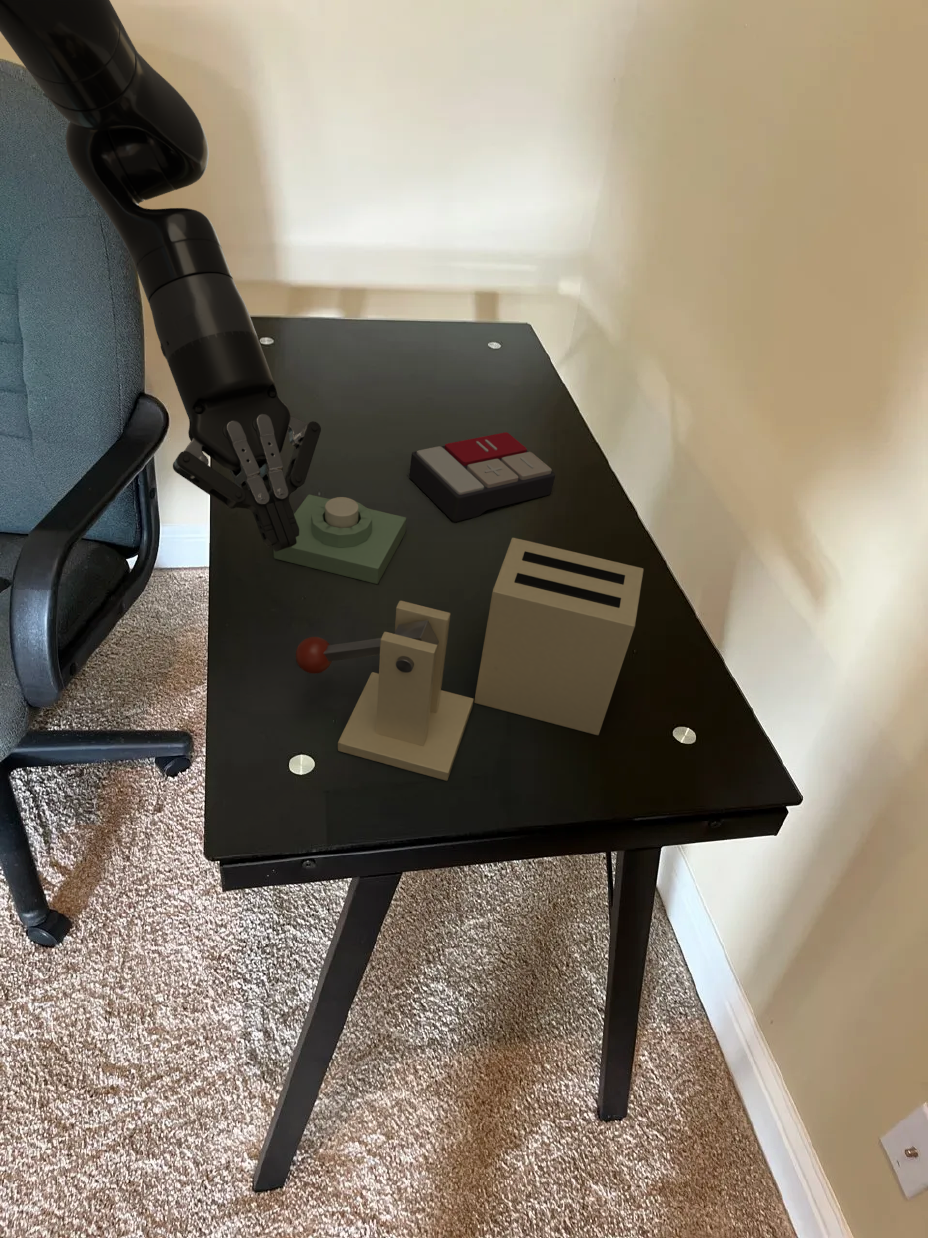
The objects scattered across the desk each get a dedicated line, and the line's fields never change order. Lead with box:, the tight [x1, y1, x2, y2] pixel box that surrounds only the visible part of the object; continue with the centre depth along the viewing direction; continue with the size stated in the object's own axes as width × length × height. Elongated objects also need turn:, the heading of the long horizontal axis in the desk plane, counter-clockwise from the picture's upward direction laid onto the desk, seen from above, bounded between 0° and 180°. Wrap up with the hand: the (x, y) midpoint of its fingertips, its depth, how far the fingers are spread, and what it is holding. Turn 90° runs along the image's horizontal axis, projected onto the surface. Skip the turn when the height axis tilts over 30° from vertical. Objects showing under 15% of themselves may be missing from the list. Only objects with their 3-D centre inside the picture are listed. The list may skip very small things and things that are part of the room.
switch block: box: [272, 493, 407, 585], centre depth 92 cm, size 12×10×4 cm
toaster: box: [473, 537, 644, 736], centre depth 75 cm, size 12×8×14 cm, turn 76°
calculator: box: [408, 431, 556, 523], centre depth 104 cm, size 11×4×15 cm
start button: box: [325, 496, 358, 528], centre depth 90 cm, size 4×4×2 cm
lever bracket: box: [337, 600, 475, 782], centre depth 71 cm, size 10×9×13 cm
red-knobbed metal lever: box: [295, 620, 439, 675], centre depth 70 cm, size 13×3×3 cm, turn 73°
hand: (286, 547), depth 69 cm, fingers closed
